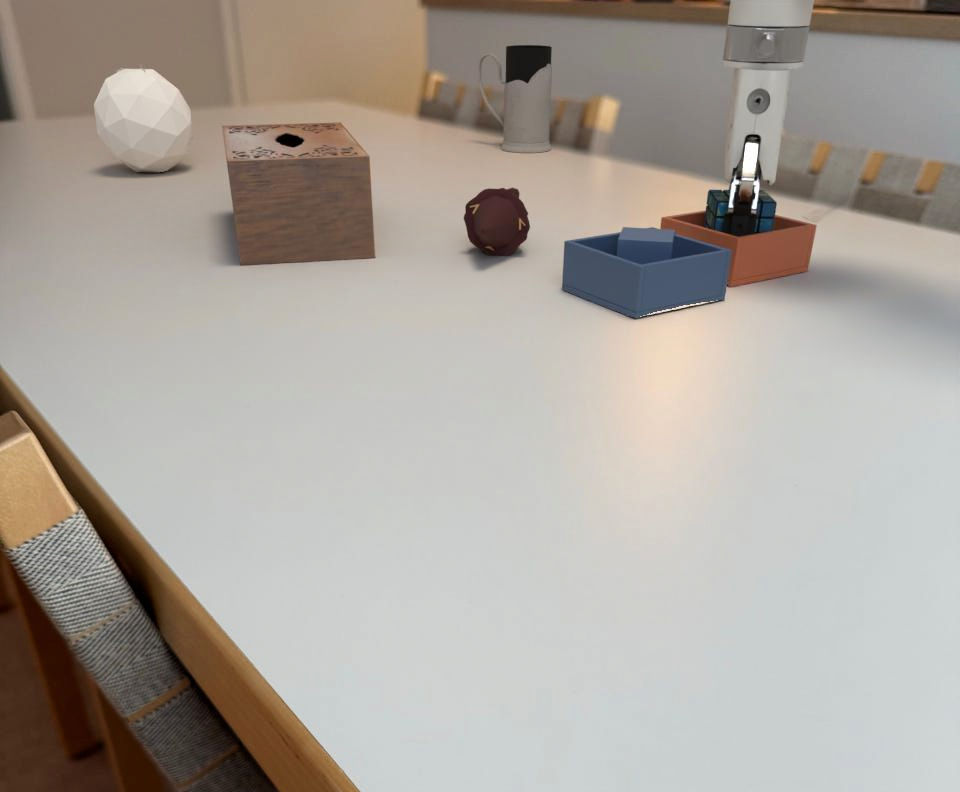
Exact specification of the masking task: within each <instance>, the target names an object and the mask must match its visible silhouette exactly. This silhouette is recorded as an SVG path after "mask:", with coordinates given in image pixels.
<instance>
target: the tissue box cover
mask: <svg viewBox="0 0 960 792" xmlns="http://www.w3.org/2000/svg"><path fill="white" fill-rule="evenodd" d="M221 130H222V138H223V143H224V153H225V159H226V167H227V173H228V181H229V189H230V197H231V203H232V211H233V218H234V219H233V220H234V226H235V233H236V241H237V247H238V255H239V262H240V266H251V265H267V264H284V263H285V264H286V263H303V262H321V261H323V262H324V261H339V260H340V261H341V260H358V259H359V260H360V259H374V258H376V247H375V246H376V244H375V229H374V212H373V211H374V210H373V196H372V195H373V194H372V177H371V159H370V158H371V157H370V155H369V154H368V153H367V152H366V150H365V149H364V148H363V147H362V146H361V145H360V143H359V142H358V141H357V139H355V137H354V136H353V135H352V134H351V133H350V132H349V131H348V129H347V128H346V127H345V126H344V125H343V123H341V122H310V123H309V122H308V123H274V124H270V123H269V124H239V125H237V124H236V125H235V124H233V125H221Z"/></svg>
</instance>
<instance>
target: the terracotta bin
mask: <svg viewBox="0 0 960 792" xmlns="http://www.w3.org/2000/svg"><path fill="white" fill-rule="evenodd" d="M705 211H706V210H700V211H693V212H687V213H680V214H673V215H666V216H661V219H660V228H659V229H669V230H675V234H678V235H681V236H685V237H688V238H692V239H695V240H698V241H702V242H705V243H709V244H712V245H716V246H719V247H722V248H726V249H729V250H732V254H731V260H730V267H729V274H728V280H727V285H728V286H727V287H729V288H732V287H737V286H741V285H747V284H753V283H757V282H762V281H766V280H772V279H776V278H782V277H787V276H793V275H796V274H801V273H802V274H803V273H806V272H809V266H810V263H811V257H812V251H813V247H814V241H815V236H816V232H817V227H818V225H817V224H814V223H810V222H807V221H802V220H798V219H795V218H789V217H786V216H781V215H777V214H775V216H774V217H773V218H774V223H773V229H772V231H769V232H764V233H758V234H752V235H746V236H740V237H737V236H733V235H730V234H726V233H723V232H719V231H715V230H712V229H708V228H705V227H704V222H705Z"/></svg>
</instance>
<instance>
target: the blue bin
mask: <svg viewBox="0 0 960 792" xmlns="http://www.w3.org/2000/svg"><path fill="white" fill-rule="evenodd" d="M649 228H650V229H658V227H654V226H649ZM620 233H621V232H620V231H619V232H614V233H607V234H601V235H594V236H588V237H582V238H575V239H570V240H569V239H568V240H564V243H563V260H562V261H563V262H562V282H561V283H562V284H561V290H562V291H564V292H566V293H568V294H572V295H574V296H577V297H578V298H581V299H584V300H586V301H589V302H592V303H594V304H596V305H598V306H601V307H604V308H607V309H609V310H611V311H614V312H616V311H617V313H619V312H620V313H619V314H621V313H622V315H624V314H625V316H626V315H628V316H627V317H629V316H630V317H629V318H631V317H634V318H637V317H640V316H643V315H647V314H649V313H650V314H651V313H653V312H657V311H662V310H666V309H672V308H676V307H679V306H683V305H690V304H696V303H701V302H710V301H716V300H723V301H725V299H726V294H727V287H728V286H727V280H728V274H729V267H730V260H731V254H732V250H729V249H726V248H722V247H719V246H716V245H712V244H709V243H705V242H702V241H698V240H695V239H692V238H688V237H685V236H681V235H678V234H675V236H674V245H673V254H672V259H669V260H664V261H658V262H653V263H647V264H642V265H641V264H638V263H635V262H632V261H629V260H626V259H623V258H620V257H617V245H618V238H619V236H620ZM634 318H633V319H634Z"/></svg>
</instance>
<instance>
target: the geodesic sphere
mask: <svg viewBox="0 0 960 792" xmlns="http://www.w3.org/2000/svg"><path fill="white" fill-rule="evenodd" d="M115 72H116V73H113V74H112V75H110V76H108V77H107V78H105V79H104V80H103V81H104V82H103V84H102V86H101V87H100V89H99V92H98V95H97V97H96V99H95V100H94V103H93V111H94V117H95V126H96V127H95V128H96V134H97V135H96V136H98V138H99V139H100V140H101V142H102V143H103V144H104V146H105V147H106V148H107V149H108V151H109V152H110V153H111V154H112V155H113V156H114V158H115V159H117V160H118V161H120V162H121V163H123V164H125V166H127V167H128V168H130V169H131V170H133V172H135V171H136V172H135V173H160V172H164V171H166V172H168V171H169V170H171V169H173V168H174V167H175V166H176V165H178V164H179V163H181V162H182V160H183V158H184V157H185V155H186V154H187V152H188V149H189V146H190V144H191V142H192V141H193V125H192V116H191V115H192V113H191V108H190V106H189V104H188V102H187V101H186V100H185V97H184V96H183V94H182V93H181V91H180V89H179V88H178V87H176V86H175V85H173V84H172V83H171V82H170V81H168V80H167V79H166V78H165V77H164V76H163V75H161V73H159V72H157V71H156V70H155V69H153V68H143V65H142V63H140V64H139V68H131V67H129V68H128V67H125V68H123V67H120V68H118V69H117V70H115ZM164 173H165V172H164Z"/></svg>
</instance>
